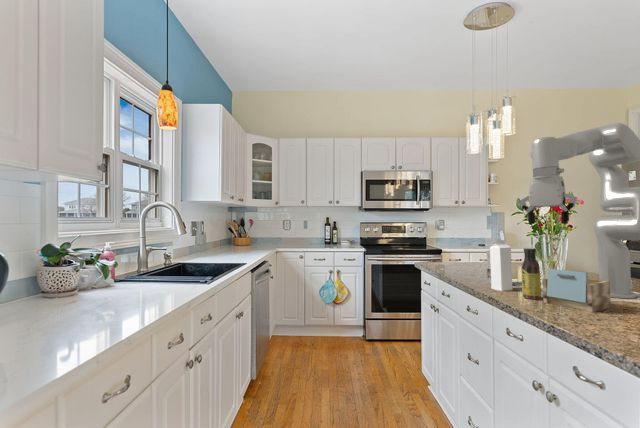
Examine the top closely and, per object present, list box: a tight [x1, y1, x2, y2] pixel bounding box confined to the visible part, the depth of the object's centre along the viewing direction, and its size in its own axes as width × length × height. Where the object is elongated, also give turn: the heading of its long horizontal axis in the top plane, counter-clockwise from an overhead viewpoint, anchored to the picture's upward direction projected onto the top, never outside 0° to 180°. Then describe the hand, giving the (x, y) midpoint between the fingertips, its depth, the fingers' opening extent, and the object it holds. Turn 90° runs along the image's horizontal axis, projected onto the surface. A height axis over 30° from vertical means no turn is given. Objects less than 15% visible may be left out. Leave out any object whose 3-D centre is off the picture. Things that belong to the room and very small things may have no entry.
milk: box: [489, 239, 513, 292], centre depth 151 cm, size 6×6×22 cm
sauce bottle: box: [521, 247, 542, 301], centre depth 133 cm, size 6×6×20 cm
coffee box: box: [486, 250, 491, 285], centre depth 164 cm, size 9×6×16 cm
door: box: [546, 268, 589, 303], centre depth 119 cm, size 10×12×2 cm
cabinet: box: [542, 277, 612, 313], centre depth 121 cm, size 12×16×9 cm
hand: (547, 223), depth 116 cm, fingers open, 9 cm apart
